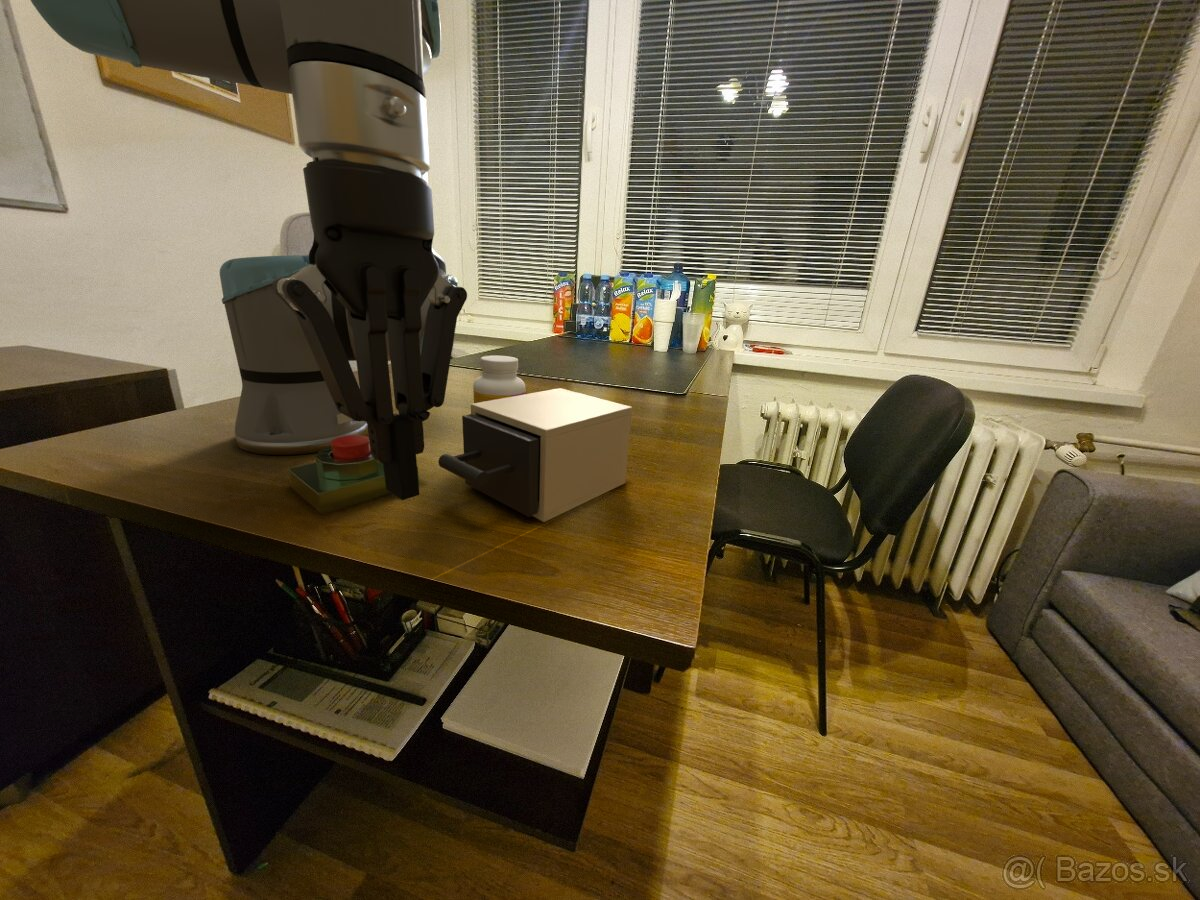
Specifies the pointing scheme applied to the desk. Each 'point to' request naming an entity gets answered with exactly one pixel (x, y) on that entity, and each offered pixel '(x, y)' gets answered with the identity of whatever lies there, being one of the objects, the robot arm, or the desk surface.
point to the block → (338, 481)
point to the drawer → (499, 462)
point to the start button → (351, 447)
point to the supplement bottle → (498, 379)
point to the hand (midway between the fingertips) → (402, 491)
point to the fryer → (569, 443)
